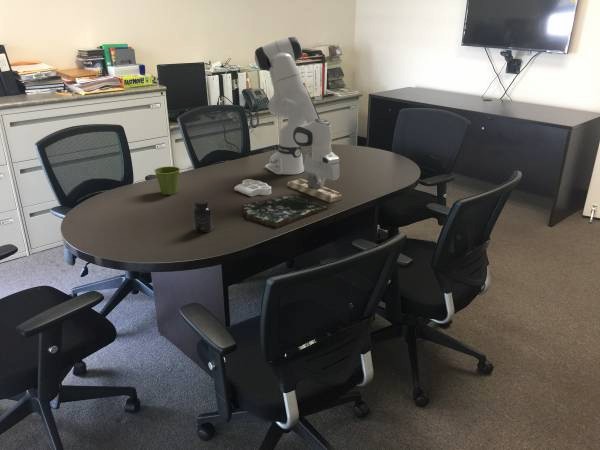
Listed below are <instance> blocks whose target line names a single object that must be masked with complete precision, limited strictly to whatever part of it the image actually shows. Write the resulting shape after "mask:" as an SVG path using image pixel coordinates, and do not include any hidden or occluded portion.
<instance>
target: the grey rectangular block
mask: <svg viewBox="0 0 600 450" xmlns="http://www.w3.org/2000/svg"><path fill="white" fill-rule="evenodd" d="M307 181H308V187H309V188H312V189H317V188H320V186H321V185H319V184H317V179H316V175H315V174H312V173H310V174H308V175H307Z"/></svg>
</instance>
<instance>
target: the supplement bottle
mask: <svg viewBox="0 0 600 450" xmlns="http://www.w3.org/2000/svg"><path fill="white" fill-rule="evenodd" d="M192 215H193V216H192V217H193V228H194V231H195V232H196V233H197V234H206V233H209V232H211V231H212V230H213V223H212V222H213V221H212V220H213V219H212V210H211V207H209V204H208V200H207V199H197V200H195V201H194V208H193V210H192Z"/></svg>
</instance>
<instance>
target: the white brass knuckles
mask: <svg viewBox="0 0 600 450" xmlns="http://www.w3.org/2000/svg"><path fill="white" fill-rule="evenodd" d="M233 190H234V191H236V192H239V193H240V194H241V193H242V194H243V195H246V196H248V197H255V196H268V195H269V196H270V195H272V185H271V186H270V185H268V183H266V182H262V181H261V180H254V179H249V178H248V179H244V180H242V182H241V183H239V184H237V185H236V186H234V189H233Z"/></svg>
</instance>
